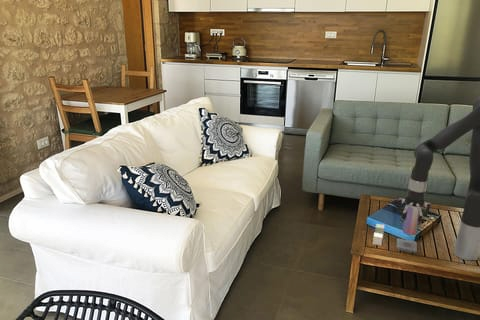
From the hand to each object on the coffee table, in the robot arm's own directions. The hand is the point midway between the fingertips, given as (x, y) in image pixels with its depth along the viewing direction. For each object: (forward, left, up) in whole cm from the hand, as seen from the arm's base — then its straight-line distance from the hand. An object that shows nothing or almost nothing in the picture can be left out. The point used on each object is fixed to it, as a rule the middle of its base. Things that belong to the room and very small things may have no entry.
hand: (411, 220), depth 184 cm
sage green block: (+13, -8, -14) cm, 21 cm away
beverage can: (0, 0, -7) cm, 7 cm away
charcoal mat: (0, 0, -14) cm, 14 cm away
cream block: (+13, +2, -14) cm, 20 cm away
